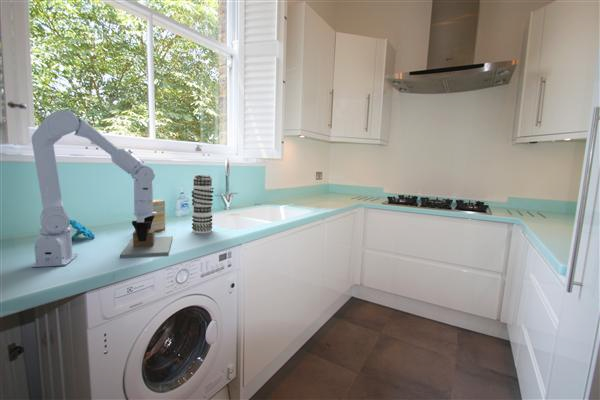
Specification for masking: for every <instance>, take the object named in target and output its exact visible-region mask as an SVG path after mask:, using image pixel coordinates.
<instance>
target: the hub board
mask: <svg viewBox="0 0 600 400" xmlns="http://www.w3.org/2000/svg"><path fill="white" fill-rule="evenodd" d="M172 242H173V236H169V235H168V236H154V245H153V246H150V247H133V237H132V238H131V239H130V240H129V242H128V243H127V245H126V246H125V247H124V248H123V250H122V251H121V253H120V254H119V259H123V258H138V257H139V258H140V257H141V258H142V257H157V256H159V257H160V256H161V257H162V256H169V254H170V250H171V245H172Z"/></svg>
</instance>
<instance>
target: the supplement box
mask: <svg viewBox="0 0 600 400" xmlns="http://www.w3.org/2000/svg"><path fill="white" fill-rule="evenodd" d="M153 212H157V214H156V215H155V217H154V219H153V221H152V224H151V229H154V232H158V231H159V232H160V231H163V230H166V200H163V199H153Z"/></svg>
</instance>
